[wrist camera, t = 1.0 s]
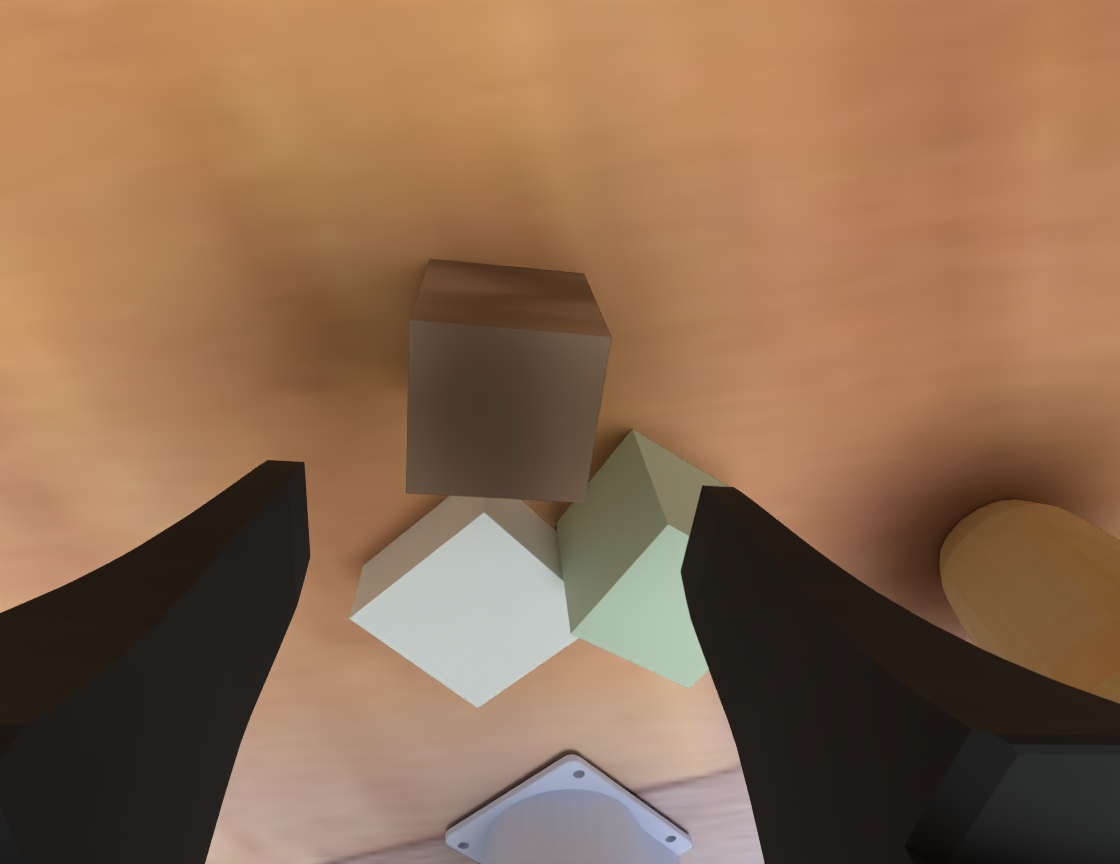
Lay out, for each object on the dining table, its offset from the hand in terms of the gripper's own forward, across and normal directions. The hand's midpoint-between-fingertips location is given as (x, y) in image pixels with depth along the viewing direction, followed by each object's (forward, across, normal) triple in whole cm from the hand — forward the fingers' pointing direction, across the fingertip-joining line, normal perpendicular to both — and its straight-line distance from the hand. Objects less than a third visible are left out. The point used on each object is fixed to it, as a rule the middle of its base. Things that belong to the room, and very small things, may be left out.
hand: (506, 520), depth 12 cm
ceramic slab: (+10, 0, +9) cm, 13 cm away
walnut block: (+10, 0, 0) cm, 10 cm away
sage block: (+10, -6, +6) cm, 13 cm away
